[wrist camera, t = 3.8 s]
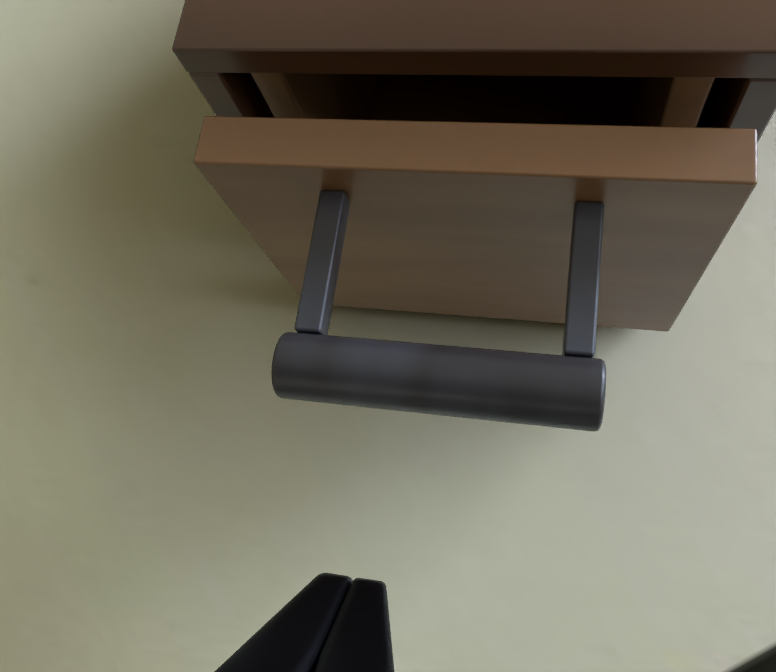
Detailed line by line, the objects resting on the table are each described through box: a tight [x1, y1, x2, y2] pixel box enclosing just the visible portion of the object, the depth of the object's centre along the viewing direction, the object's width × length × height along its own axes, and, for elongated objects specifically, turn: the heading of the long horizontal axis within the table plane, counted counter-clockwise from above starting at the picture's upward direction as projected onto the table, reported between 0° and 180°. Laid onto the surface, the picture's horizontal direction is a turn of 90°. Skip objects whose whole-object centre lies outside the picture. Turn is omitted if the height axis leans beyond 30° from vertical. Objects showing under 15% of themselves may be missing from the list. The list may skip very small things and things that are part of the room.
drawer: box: [193, 73, 757, 431], centre depth 20 cm, size 17×11×9 cm, turn 171°
